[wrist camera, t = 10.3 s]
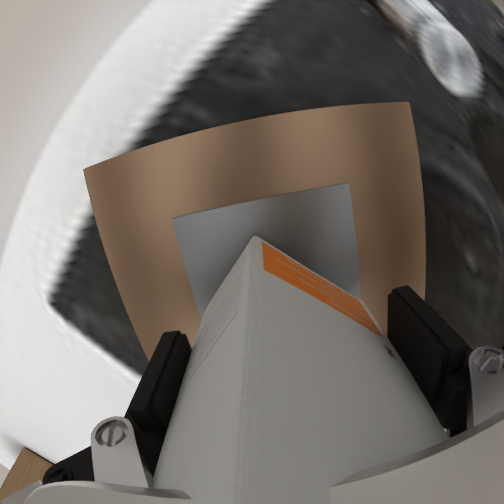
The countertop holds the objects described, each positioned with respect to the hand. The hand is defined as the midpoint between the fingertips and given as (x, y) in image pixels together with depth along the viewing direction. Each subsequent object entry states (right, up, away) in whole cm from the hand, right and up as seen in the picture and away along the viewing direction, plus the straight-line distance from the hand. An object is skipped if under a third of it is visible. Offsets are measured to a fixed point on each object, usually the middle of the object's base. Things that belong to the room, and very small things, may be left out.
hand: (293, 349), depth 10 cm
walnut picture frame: (0, +2, +7) cm, 8 cm away
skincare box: (0, +1, +3) cm, 4 cm away
